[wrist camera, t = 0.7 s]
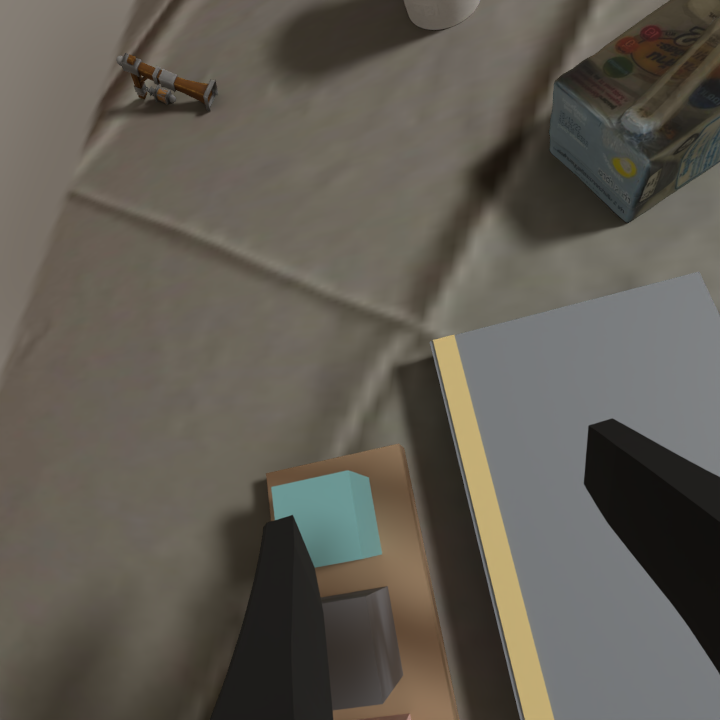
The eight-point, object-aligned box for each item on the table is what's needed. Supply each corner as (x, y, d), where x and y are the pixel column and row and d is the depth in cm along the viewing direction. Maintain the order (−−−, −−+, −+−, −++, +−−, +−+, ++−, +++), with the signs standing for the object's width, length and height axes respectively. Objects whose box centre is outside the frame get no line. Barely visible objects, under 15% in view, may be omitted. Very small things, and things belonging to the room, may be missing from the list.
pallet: (483, 830, 24) (475, 931, 18) (321, 842, 25) (263, 939, 19) (405, 448, 30) (380, 428, 24) (280, 476, 32) (227, 464, 26)
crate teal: (382, 554, 27) (362, 558, 23) (310, 567, 27) (280, 573, 24) (368, 477, 28) (348, 470, 24) (301, 491, 29) (271, 487, 25)
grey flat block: (874, 715, 21) (920, 738, 19) (530, 750, 24) (533, 774, 21) (683, 292, 28) (699, 270, 26) (435, 355, 31) (429, 341, 28)
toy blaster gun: (134, 83, 45) (118, 42, 41) (222, 115, 46) (215, 77, 41) (126, 99, 45) (108, 60, 40) (214, 131, 45) (206, 96, 41)
